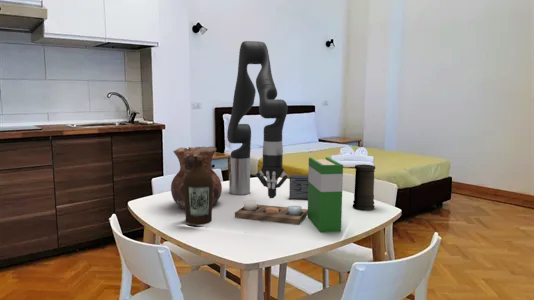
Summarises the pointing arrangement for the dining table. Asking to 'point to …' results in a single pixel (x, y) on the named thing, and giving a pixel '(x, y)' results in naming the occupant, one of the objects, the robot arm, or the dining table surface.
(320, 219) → the hardback book
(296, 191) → the small box
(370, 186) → the container
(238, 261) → the dining table surface
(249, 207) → the white button
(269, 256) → the dining table surface
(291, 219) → the brown slotted panel
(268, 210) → the terracotta button
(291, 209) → the pale blue button
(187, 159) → the brown clay vase
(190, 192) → the olive oil
